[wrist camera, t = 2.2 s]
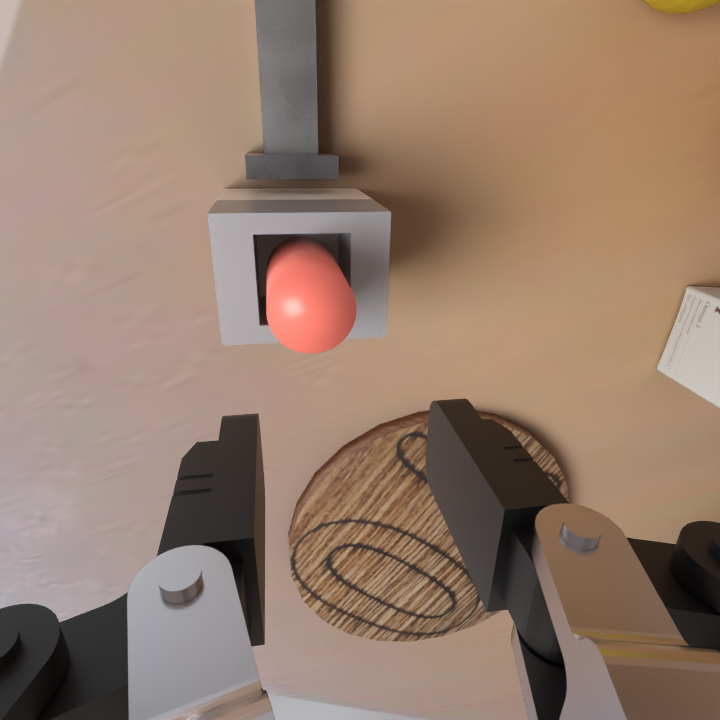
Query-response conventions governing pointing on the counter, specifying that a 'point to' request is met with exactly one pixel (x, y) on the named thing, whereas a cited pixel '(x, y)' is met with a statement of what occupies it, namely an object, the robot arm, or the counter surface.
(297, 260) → the button
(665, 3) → the lemon
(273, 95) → the rail
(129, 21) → the counter surface
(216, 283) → the grey and white block
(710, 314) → the supplement box
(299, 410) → the counter surface
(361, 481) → the trivet
